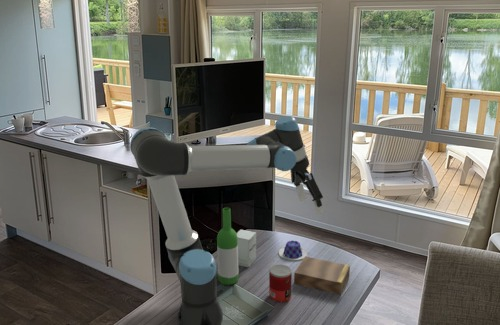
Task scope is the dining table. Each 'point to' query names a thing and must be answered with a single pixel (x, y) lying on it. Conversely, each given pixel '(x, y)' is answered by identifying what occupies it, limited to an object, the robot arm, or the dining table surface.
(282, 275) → the canned food
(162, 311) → the dining table surface
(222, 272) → the wine bottle
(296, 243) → the pudding
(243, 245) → the supplement box
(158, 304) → the dining table surface
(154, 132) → the robot arm
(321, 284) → the wooden block
